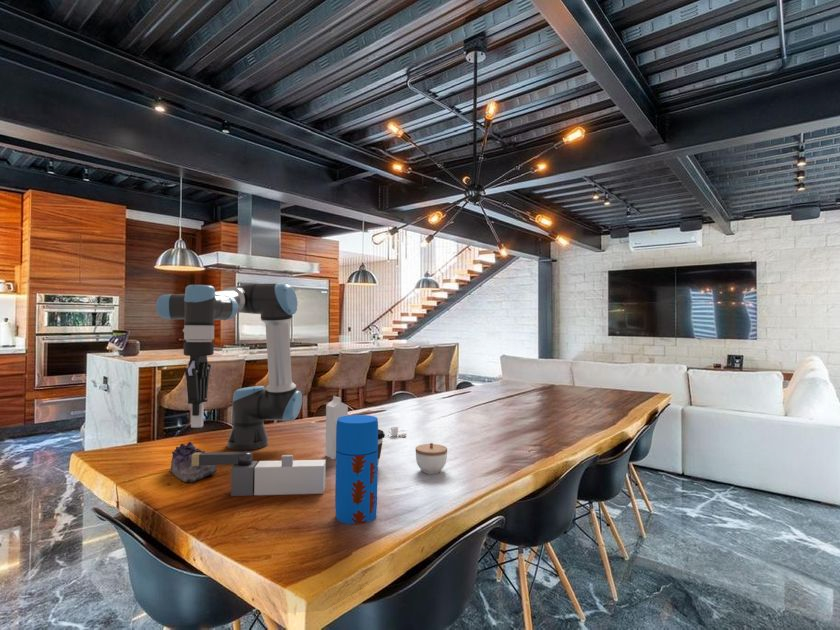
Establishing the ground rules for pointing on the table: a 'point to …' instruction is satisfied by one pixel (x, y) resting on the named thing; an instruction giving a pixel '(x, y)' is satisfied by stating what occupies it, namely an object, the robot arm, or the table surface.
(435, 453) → the lidded jar
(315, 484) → the white box with knob
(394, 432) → the teacup and saucer
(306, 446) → the table surface
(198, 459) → the bar
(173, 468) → the geode
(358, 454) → the thermos
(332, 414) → the milk
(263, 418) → the robot arm
